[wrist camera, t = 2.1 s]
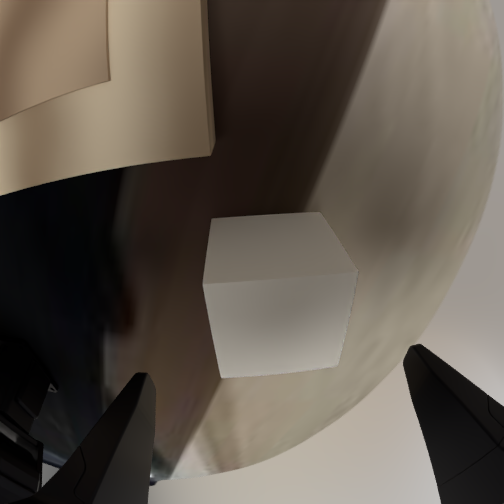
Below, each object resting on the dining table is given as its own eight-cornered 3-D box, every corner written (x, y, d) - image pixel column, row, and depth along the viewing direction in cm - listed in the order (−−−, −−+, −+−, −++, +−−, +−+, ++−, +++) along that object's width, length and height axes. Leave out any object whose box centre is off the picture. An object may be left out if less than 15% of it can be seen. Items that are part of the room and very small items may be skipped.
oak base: (-17, 190, 11) (-51, 213, 8) (-24, -15, 4) (-56, -19, 1) (215, 141, 11) (209, 157, 9) (205, -110, 4) (200, -144, 2)
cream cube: (222, 302, 16) (221, 378, 12) (211, 218, 13) (202, 284, 9) (313, 295, 16) (337, 366, 12) (320, 211, 13) (358, 271, 9)
